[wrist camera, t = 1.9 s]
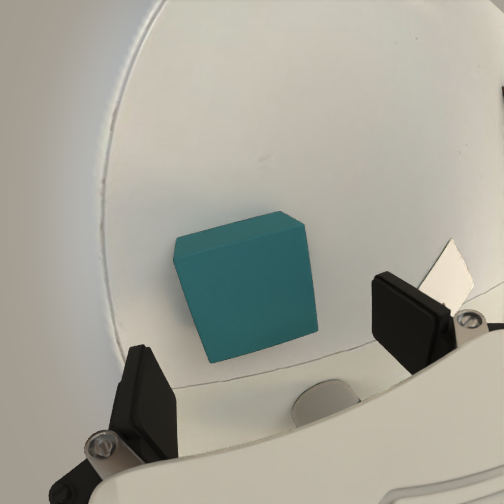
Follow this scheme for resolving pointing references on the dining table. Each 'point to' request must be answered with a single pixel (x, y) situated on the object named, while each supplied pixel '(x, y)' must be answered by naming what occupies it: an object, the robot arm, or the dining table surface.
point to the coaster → (448, 280)
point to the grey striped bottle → (323, 402)
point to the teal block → (248, 284)
